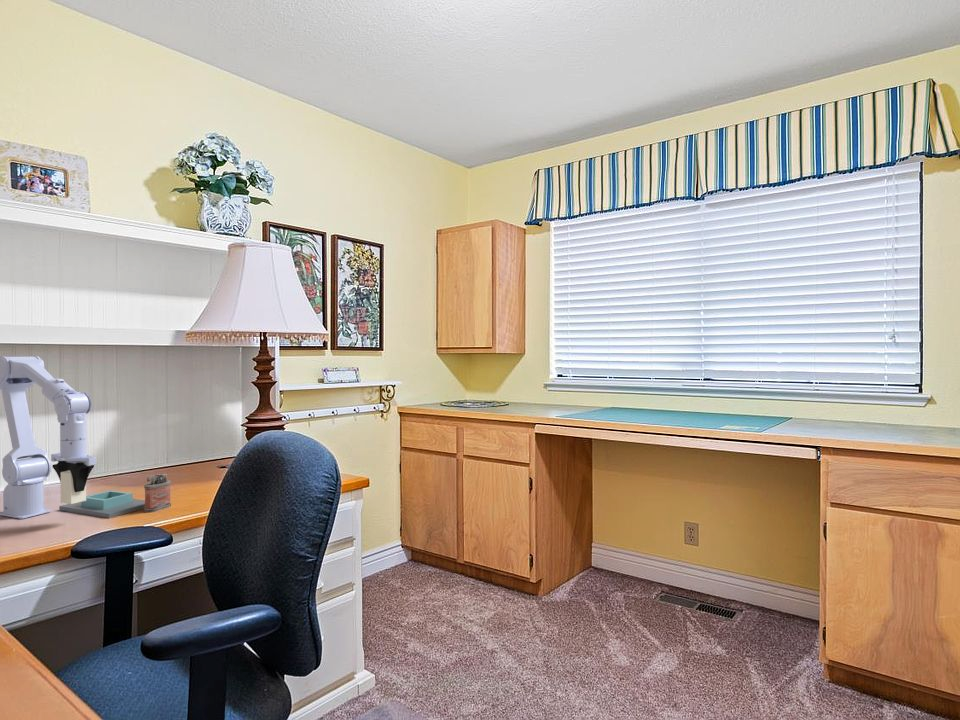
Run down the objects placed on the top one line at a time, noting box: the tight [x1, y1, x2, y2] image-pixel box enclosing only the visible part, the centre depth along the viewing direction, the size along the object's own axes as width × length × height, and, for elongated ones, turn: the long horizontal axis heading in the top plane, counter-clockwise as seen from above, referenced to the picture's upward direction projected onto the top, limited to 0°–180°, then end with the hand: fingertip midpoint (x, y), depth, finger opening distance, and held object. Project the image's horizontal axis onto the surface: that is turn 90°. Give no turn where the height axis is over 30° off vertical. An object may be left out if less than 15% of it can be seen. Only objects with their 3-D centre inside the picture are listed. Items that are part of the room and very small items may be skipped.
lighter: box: [143, 473, 172, 513], centre depth 173 cm, size 8×3×10 cm, turn 159°
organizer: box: [58, 490, 145, 519], centre depth 173 cm, size 20×14×4 cm
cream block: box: [60, 470, 87, 504], centre depth 158 cm, size 4×4×8 cm
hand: (73, 490), depth 158 cm, fingers closed on cream block, 4 cm apart
